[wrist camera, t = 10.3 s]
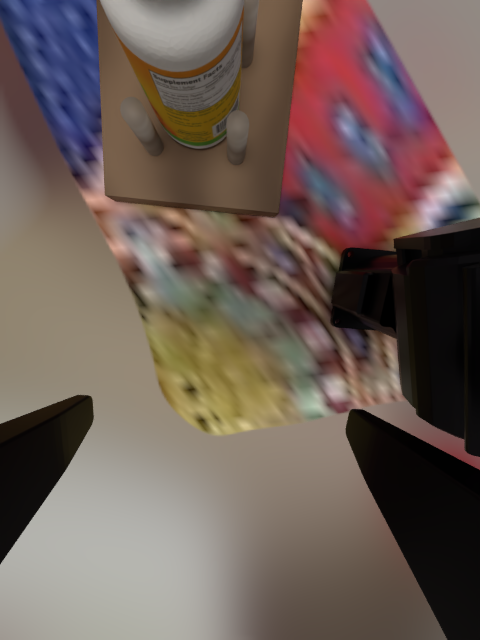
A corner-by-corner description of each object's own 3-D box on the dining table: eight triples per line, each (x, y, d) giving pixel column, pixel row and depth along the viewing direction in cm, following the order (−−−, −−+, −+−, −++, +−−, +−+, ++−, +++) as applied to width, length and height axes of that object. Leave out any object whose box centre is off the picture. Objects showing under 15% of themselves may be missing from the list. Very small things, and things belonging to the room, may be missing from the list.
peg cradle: (295, 22, 15) (327, -93, 10) (274, 217, 18) (291, 199, 13) (108, -7, 14) (46, -145, 10) (115, 201, 17) (70, 175, 12)
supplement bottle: (150, 50, 14) (-19, -403, 5) (239, 52, 14) (253, -382, 5) (158, 151, 15) (37, -42, 6) (240, 152, 15) (252, -34, 6)
